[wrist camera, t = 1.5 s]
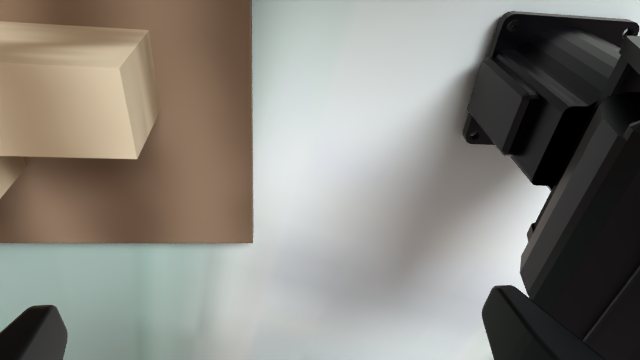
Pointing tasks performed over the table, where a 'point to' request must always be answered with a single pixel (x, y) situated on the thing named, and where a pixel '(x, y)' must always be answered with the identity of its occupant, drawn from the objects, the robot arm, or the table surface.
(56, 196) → the board
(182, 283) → the table surface
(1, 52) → the t block
